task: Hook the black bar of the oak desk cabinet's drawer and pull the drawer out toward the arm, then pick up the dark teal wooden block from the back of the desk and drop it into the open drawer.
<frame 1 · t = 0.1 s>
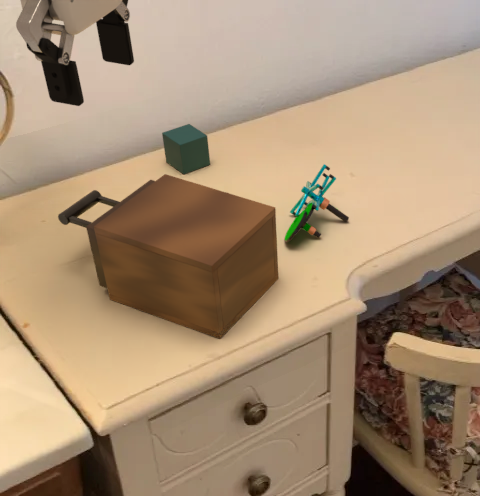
hand: (94, 81, 81), 23 cm above the table, tool pointing down, fingers open, 9 cm apart
stick construction toy: (316, 227, 107), on the table
drawer: (150, 240, 94), point 5 cm above the table, slide at 0.5 cm
cabinet: (196, 288, 96), on the table
block: (188, 163, 117), on the table
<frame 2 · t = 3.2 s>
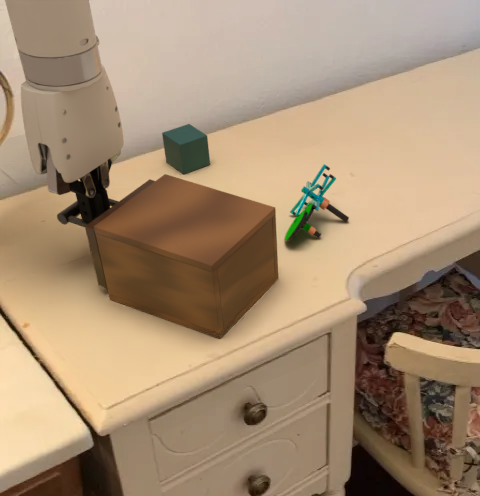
hand: (97, 220, 96), 5 cm above the table, tool pointing down, fingers closed
drawer: (148, 239, 94), point 5 cm above the table, slide at 0.7 cm, touching gripper
everything else where it was.
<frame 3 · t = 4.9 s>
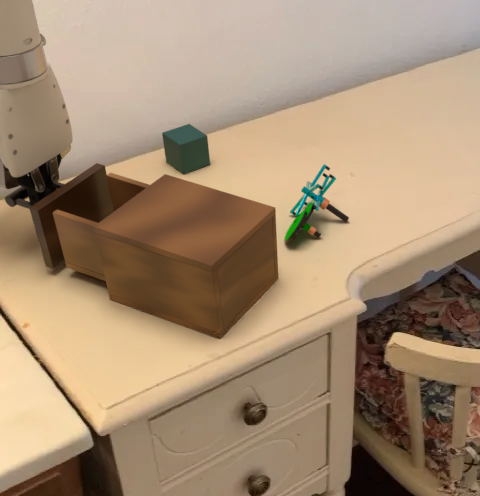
hand: (48, 214, 99), 4 cm above the table, tool pointing down, fingers closed
drawer: (95, 222, 96), point 5 cm above the table, slide at 8.2 cm, touching gripper
everything else where it was.
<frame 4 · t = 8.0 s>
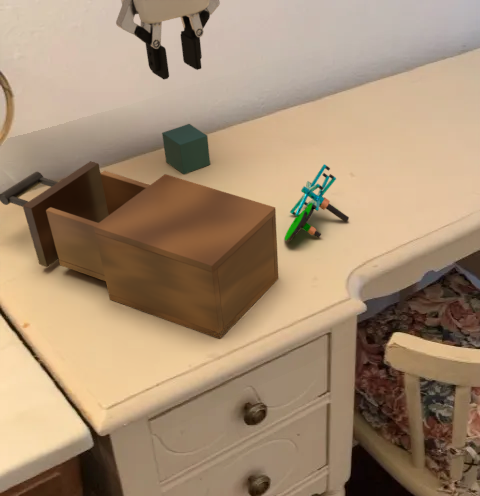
hand: (176, 69, 107), 13 cm above the table, tool pointing down, fingers open, 4 cm apart
drawer: (88, 219, 97), point 5 cm above the table, slide at 9.1 cm
everything else where it was.
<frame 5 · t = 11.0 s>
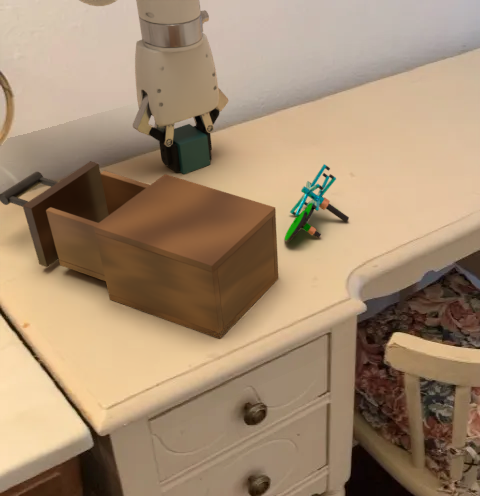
hand: (187, 161, 116), 0 cm above the table, tool pointing down, fingers closed on block, 4 cm apart
block: (188, 163, 117), on the table, touching gripper
everything else where it was.
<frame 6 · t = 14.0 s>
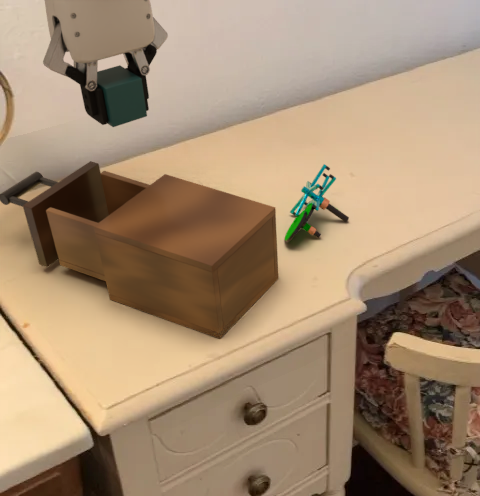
hand: (119, 111, 94), 15 cm above the table, tool pointing down, fingers closed on block, 4 cm apart
block: (119, 114, 94), point 15 cm above the table, touching gripper
everything else where it was.
when the fingers open (8 cm above the table, at t = 16.8 s): block drops 6 cm, resting on drawer.
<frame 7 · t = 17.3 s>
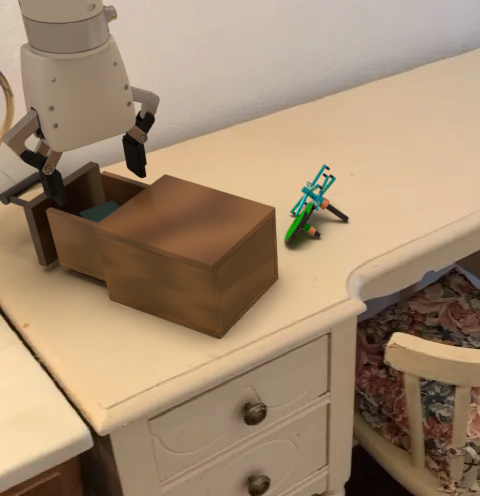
hand: (98, 186, 92), 10 cm above the table, tool pointing down, fingers open, 9 cm apart
drawer: (88, 219, 97), point 5 cm above the table, slide at 9.1 cm, touching block
block: (112, 246, 98), point 2 cm above the table, touching drawer
everything else where it was.
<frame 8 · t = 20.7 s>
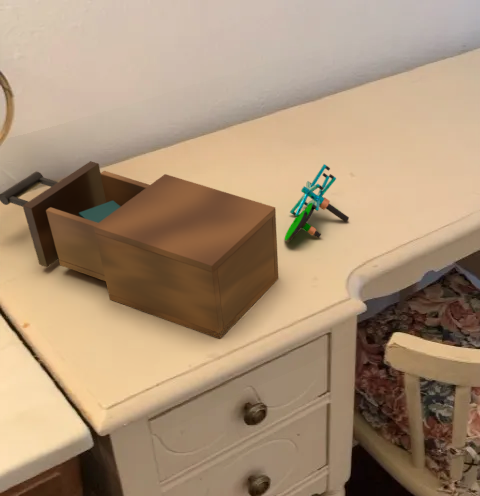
nothing on the table moved.
at the end: drawer slide at 9.1 cm; block inside the target area in the drawer (0.4 cm from its centre), point 2.0 cm above the cabinet's base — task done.
